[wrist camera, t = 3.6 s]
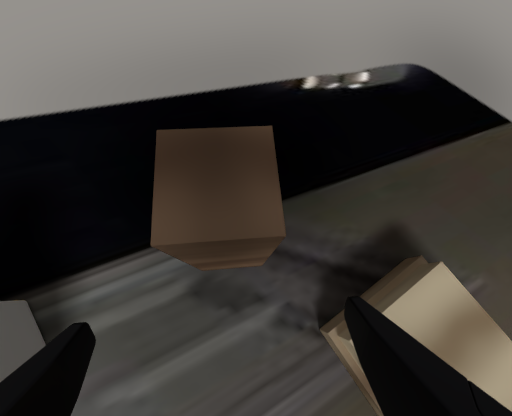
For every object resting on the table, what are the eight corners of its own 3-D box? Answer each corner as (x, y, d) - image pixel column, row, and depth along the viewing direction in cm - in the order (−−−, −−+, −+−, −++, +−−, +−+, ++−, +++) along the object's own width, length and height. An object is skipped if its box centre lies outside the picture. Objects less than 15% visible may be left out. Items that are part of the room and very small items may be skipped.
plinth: (495, 365, 19) (558, 384, 15) (408, 460, 17) (457, 510, 13) (405, 258, 21) (441, 251, 18) (319, 329, 19) (338, 338, 15)
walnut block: (261, 265, 20) (286, 235, 9) (202, 270, 20) (150, 245, 9) (256, 210, 22) (271, 125, 11) (201, 213, 22) (156, 130, 10)
